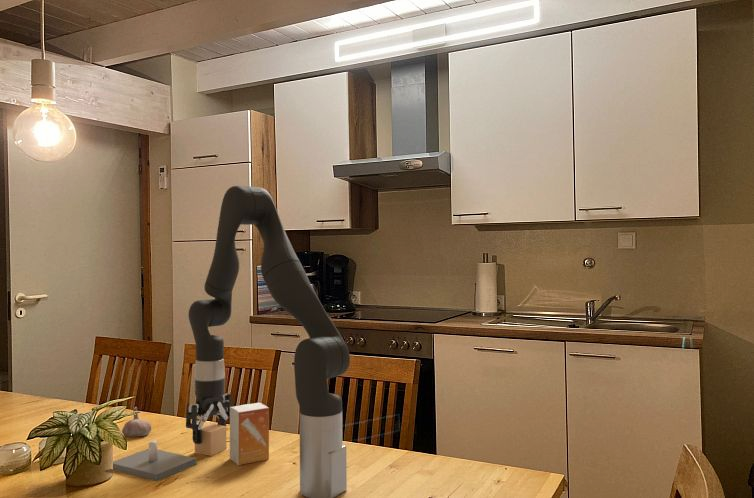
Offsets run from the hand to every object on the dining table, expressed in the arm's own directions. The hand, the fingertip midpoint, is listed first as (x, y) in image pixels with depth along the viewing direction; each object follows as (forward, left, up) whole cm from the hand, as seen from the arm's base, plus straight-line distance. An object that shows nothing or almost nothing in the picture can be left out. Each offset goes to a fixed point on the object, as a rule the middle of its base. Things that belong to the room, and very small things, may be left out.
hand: (210, 438), depth 158 cm
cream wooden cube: (0, 0, -3) cm, 3 cm away
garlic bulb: (+28, 0, -3) cm, 28 cm away
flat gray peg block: (+4, +15, -3) cm, 16 cm away
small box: (-13, 0, -3) cm, 14 cm away
